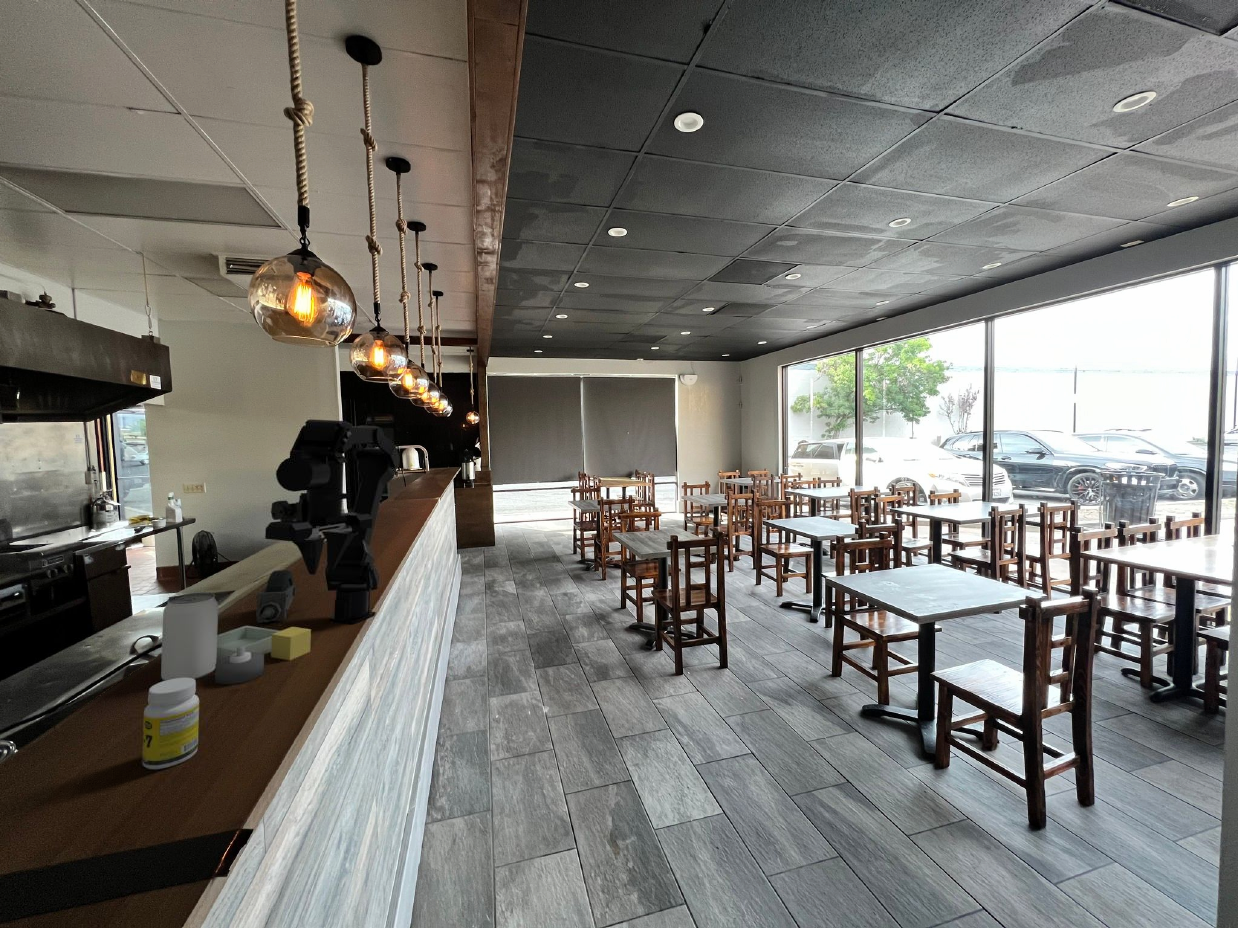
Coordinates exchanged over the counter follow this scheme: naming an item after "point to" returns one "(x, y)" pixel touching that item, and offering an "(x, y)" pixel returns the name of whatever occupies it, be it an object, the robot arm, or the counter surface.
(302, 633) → the yellow cube
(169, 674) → the can
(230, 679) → the trolley wheel
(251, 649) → the tray
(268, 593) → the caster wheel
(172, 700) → the supplement bottle
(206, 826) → the counter surface
